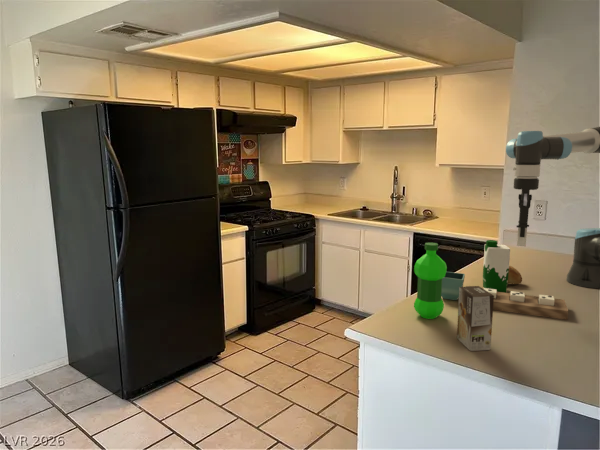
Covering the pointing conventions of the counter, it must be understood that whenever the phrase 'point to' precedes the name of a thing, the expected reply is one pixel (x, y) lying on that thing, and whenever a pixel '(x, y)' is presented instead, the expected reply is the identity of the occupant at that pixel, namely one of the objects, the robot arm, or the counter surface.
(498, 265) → the milk carton
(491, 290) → the button one
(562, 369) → the counter surface
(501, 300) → the button panel
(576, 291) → the counter surface
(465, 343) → the coffee box
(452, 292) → the flower pot
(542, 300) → the button two
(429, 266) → the plastic bottle
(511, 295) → the button three
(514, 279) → the bread roll
